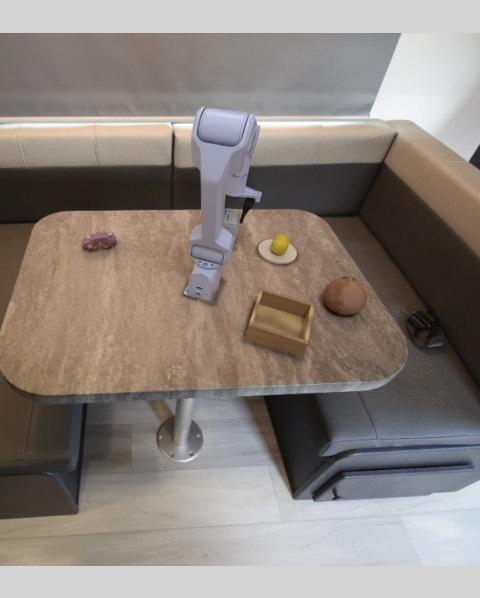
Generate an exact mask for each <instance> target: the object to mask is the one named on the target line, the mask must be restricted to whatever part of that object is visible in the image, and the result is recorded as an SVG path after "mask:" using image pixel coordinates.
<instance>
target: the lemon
mask: <svg viewBox="0 0 480 598" xmlns="http://www.w3.org/2000/svg"><path fill="white" fill-rule="evenodd" d="M272 239H273V241H272V244H271V249H272V251H273V252H274V253H275V254H283V253H285V252H286V251H287V249H288V246H289V244H290V237H289V236H288V235H287V234H285V233H278V234H276V235H275V236H274V237H273V238H272Z"/></svg>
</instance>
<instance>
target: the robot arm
mask: <svg viewBox="0 0 480 598" xmlns="http://www.w3.org/2000/svg"><path fill="white" fill-rule="evenodd" d="M260 132H261V124H258V122H257V118H256V116H255V114H254V113H248V112H246V111H235V110H229V109H222V108H213V107H206V106H201V107H200V108H199V109H198V110H197V112H196V113H195V115H194V118H193V124H192V129H191V134H190V135H191V136H190V140H191V141H190V142H191V143H190V144H191V145H190V146H191V147H190V148H191V158H192V164H193V165H194V166H195V167H196V168H197V169H198V170H199V175H200V224H197V225H195V226H194V227H193V228H192V230H191V232H190V235H189V238H188V245H187V254H188V256H189V257H190V258H191V262H193V263H192V271H191V273H190V275H189V277H188V284H187V286H186V287H185V290H184V291H183V295H184V296H186V297H190V298H192V299H193V298H194V299H196V300H198V299H201V300H204V301H208V302H210V301H211V299H212V297H213V295H214V294H215V293H216V291H218V289H219V286H220V281H221V276H222V271H223V266H227V265H228V264H229V262H230V259H231V256H232V253H233V249H234V248H233V245H234V246H235V243H234V242H233V237H232V236H233V235H232V234H231V233H230V232H228V231H227V230H226V229H225V228H223V219H224V210H225V206H226V197H227V196H229V197H233V198H235V197H237V198H243V199H245V200H244V202H243V204H242V210H241V216H240V217H239V221H238V224H241V225H243V223H244V221H245V218H246V216H247V214H248V213H249V212H250V210H252V208H253V207H254V205H255V203H260V201H261V198H262V195H263V192H262V191H259V190H256V189H253V188H251V187H249V186H247V181H248V176H249V171H250V167H251V161H252V157H253V155H254V152H255V148H256V145H257V144H258V140H259V137H260Z"/></svg>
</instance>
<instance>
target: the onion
mask: <svg viewBox="0 0 480 598" xmlns="http://www.w3.org/2000/svg"><path fill="white" fill-rule="evenodd" d="M323 300H324V303H325V305H326V306H327V308H328V309H329V310H330V311H331V312H333V314H335V315H339V316H343V317H345V316H349V315H354V314H356V313H360V312H361V311H362V310H364V308H365V306H366V305H367V303H368V292H367V290H366V288H365V287H364V286H363V285H362V283H360V282H359V281H358V280H357V279H356V277H354V276H353V275H351V274H350V275H347V276H341V277H338V278H336V279H333V280H332V281H330V282H329V283H328V284H327V285H326V286H325V288H324V290H323Z"/></svg>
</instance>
